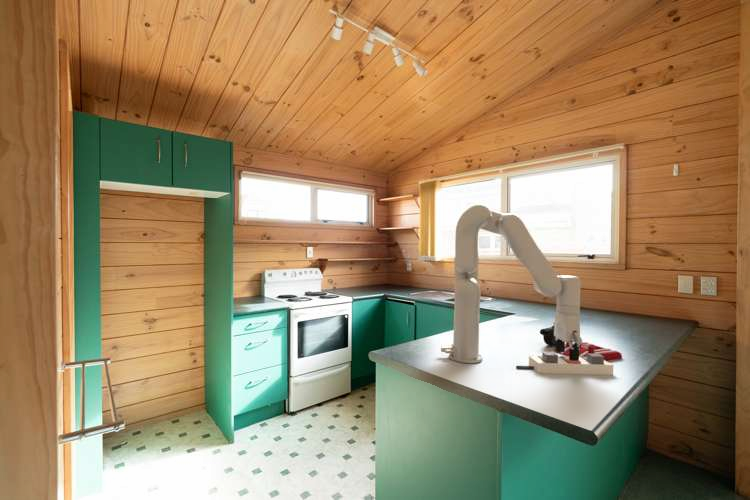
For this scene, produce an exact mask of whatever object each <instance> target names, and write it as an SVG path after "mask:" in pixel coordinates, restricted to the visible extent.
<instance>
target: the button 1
mask: <svg viewBox="0 0 750 500" xmlns="http://www.w3.org/2000/svg"><path fill="white" fill-rule="evenodd" d="M541 356H542V361H544V362H545V363H558V357H559V355H558V353H555V352H552V351H551V352H550V351H549V352H545V351H543V352H542V354H541Z"/></svg>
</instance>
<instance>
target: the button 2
mask: <svg viewBox="0 0 750 500" xmlns="http://www.w3.org/2000/svg"><path fill="white" fill-rule="evenodd" d="M565 361H566V362H567V363H569V364H581V361H579V360H569V358H565Z"/></svg>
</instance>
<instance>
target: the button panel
mask: <svg viewBox="0 0 750 500" xmlns="http://www.w3.org/2000/svg"><path fill="white" fill-rule="evenodd" d="M565 358H569V357H568V356H564V355H560V356H559V355H558V363H545V362H544V361H542V355H528V365H515V369H517V370H518V369H519V370H521V369H522V370H534V371H535V372H536V373H537V374H562V375H563V374H565V375H566V374H567V375H595V376H596V375H597V376H599V375H601V376H614V364H612V363H610V362H608V361H605V360H604V365H603V364H591V363H589V362H587V357H579V361H581V364H569V363H567V362H566V361H565Z"/></svg>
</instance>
